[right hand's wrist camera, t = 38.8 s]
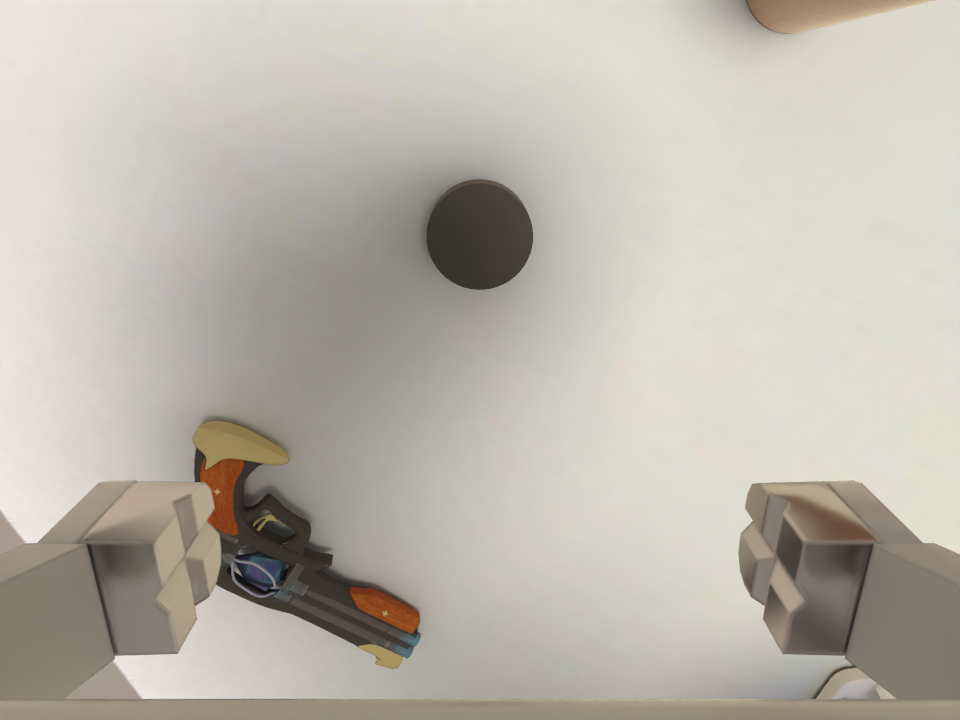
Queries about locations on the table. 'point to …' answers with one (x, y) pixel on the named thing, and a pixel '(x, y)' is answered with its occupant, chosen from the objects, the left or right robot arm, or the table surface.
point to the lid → (479, 234)
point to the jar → (819, 12)
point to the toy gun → (289, 552)
